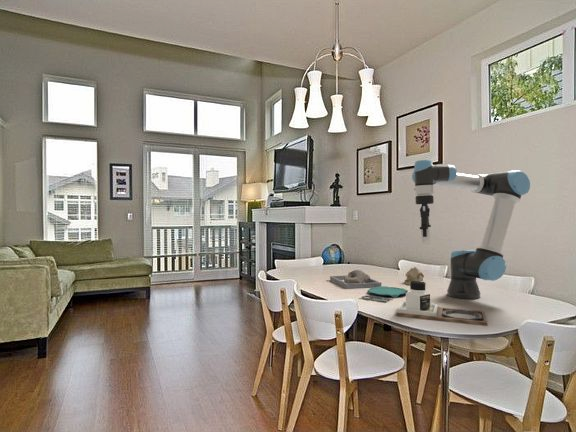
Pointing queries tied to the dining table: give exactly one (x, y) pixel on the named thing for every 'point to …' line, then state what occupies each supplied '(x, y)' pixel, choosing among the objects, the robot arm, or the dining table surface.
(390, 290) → the cutlery set
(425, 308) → the medicine bottle
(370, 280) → the grey rectangular tray
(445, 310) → the board
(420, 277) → the ceramic model
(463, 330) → the dining table surface
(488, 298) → the dining table surface
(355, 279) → the grey rounded lump
